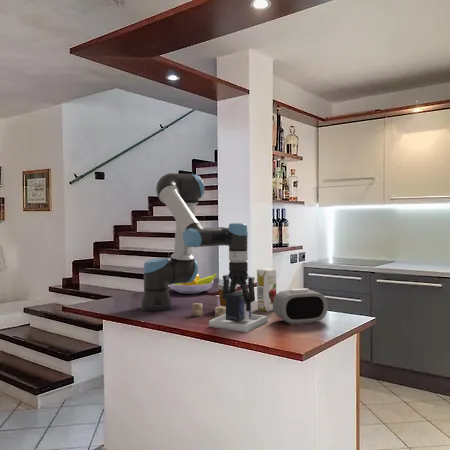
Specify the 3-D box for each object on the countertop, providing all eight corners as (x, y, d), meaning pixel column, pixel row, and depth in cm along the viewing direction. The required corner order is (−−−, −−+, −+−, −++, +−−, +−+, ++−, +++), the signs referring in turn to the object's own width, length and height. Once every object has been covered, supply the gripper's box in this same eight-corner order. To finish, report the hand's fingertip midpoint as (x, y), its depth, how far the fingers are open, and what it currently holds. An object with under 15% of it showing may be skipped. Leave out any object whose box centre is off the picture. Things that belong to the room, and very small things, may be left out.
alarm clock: (282, 326, 175) (281, 292, 175) (272, 320, 184) (272, 288, 184) (328, 322, 181) (328, 289, 181) (317, 317, 190) (317, 286, 190)
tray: (209, 326, 175) (209, 320, 175) (231, 317, 191) (231, 311, 191) (246, 332, 167) (246, 325, 167) (267, 322, 182) (267, 315, 182)
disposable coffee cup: (235, 312, 201) (235, 286, 201) (215, 311, 203) (215, 285, 202) (239, 307, 210) (239, 282, 210) (219, 307, 212) (219, 282, 212)
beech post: (190, 315, 195) (190, 304, 195) (196, 313, 199) (196, 302, 199) (198, 316, 193) (198, 305, 193) (204, 314, 197) (204, 303, 196)
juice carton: (254, 309, 205) (254, 269, 205) (265, 306, 212) (265, 267, 211) (267, 312, 200) (267, 270, 200) (278, 309, 207) (278, 268, 206)
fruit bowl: (158, 293, 251) (158, 273, 250) (188, 286, 273) (188, 268, 273) (196, 298, 235) (196, 277, 234) (225, 290, 257) (225, 271, 257)
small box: (239, 322, 172) (238, 295, 172) (225, 320, 176) (224, 294, 176) (252, 316, 181) (251, 291, 181) (238, 315, 185) (237, 290, 185)
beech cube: (215, 318, 190) (215, 307, 190) (220, 316, 194) (220, 305, 194) (224, 319, 188) (224, 308, 188) (229, 317, 192) (229, 306, 192)
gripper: (213, 261, 180) (213, 317, 180) (255, 263, 170) (255, 322, 171) (222, 259, 186) (223, 313, 187) (264, 261, 176) (264, 318, 177)
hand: (238, 317), depth 179 cm, fingers closed on small box, 6 cm apart
